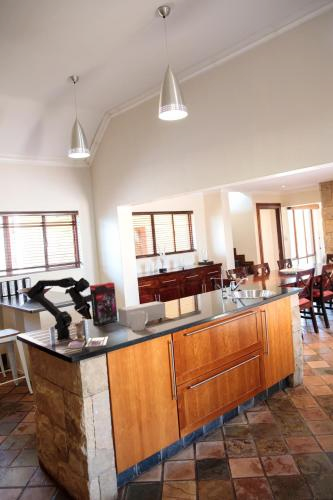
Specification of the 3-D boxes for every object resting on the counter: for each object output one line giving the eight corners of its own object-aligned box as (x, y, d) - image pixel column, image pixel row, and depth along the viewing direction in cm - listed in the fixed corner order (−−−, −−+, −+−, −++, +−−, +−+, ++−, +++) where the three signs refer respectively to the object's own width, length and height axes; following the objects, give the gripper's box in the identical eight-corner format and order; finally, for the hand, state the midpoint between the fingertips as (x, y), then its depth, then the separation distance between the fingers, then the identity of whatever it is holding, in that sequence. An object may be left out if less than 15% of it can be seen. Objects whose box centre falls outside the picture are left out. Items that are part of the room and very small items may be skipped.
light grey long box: (156, 316, 272) (155, 301, 272) (165, 317, 263) (164, 302, 263) (118, 324, 252) (117, 308, 252) (127, 326, 244) (126, 310, 243)
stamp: (74, 341, 213) (73, 324, 213) (76, 339, 218) (75, 322, 218) (83, 341, 214) (82, 323, 214) (85, 338, 219) (83, 321, 218)
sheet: (84, 347, 201) (84, 346, 201) (89, 338, 219) (89, 337, 219) (105, 345, 202) (105, 344, 202) (108, 336, 220) (108, 336, 220)
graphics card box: (98, 326, 249) (95, 285, 248) (92, 325, 254) (89, 285, 253) (118, 321, 262) (115, 282, 261) (111, 320, 266) (109, 282, 266)
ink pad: (68, 348, 200) (67, 345, 200) (71, 343, 209) (70, 341, 209) (83, 347, 201) (82, 344, 201) (85, 342, 210) (85, 340, 210)
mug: (136, 332, 225) (135, 314, 225) (128, 330, 232) (127, 312, 232) (152, 328, 233) (151, 310, 233) (143, 326, 240) (142, 309, 240)
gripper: (85, 287, 211) (99, 311, 208) (91, 290, 229) (104, 312, 227) (68, 298, 209) (82, 322, 207) (75, 300, 228) (88, 322, 225)
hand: (89, 319), depth 217 cm, fingers open, 9 cm apart
